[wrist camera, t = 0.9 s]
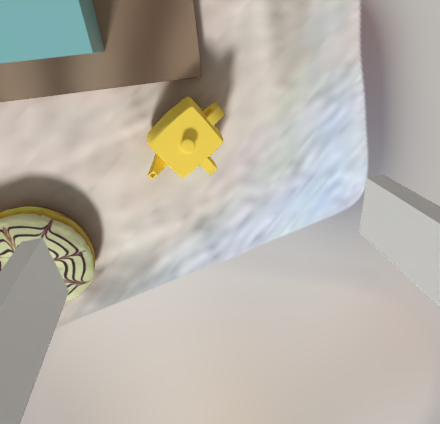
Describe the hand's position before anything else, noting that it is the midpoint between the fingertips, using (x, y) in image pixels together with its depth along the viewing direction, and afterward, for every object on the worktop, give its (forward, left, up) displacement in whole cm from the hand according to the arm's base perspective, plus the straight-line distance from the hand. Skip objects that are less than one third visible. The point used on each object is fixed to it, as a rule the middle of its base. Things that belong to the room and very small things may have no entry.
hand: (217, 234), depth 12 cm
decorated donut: (-16, -9, -18) cm, 26 cm away
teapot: (0, 0, -18) cm, 18 cm away
